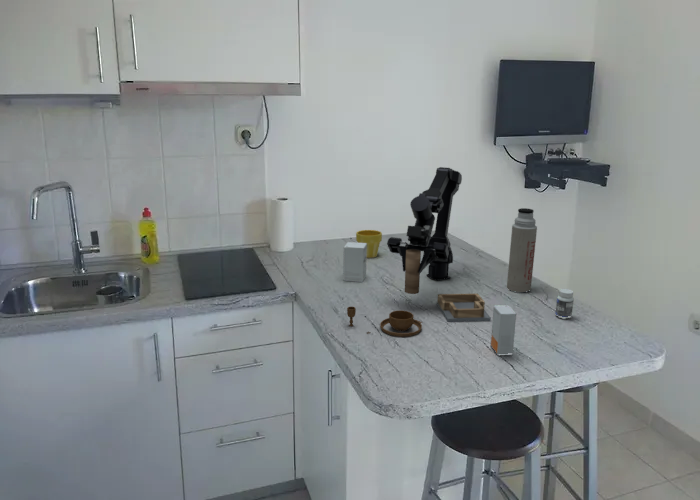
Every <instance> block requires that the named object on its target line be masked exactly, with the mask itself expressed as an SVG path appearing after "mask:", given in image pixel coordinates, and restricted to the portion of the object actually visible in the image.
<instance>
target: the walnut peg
mask: <svg viewBox="0 0 700 500" xmlns="http://www.w3.org/2000/svg"><path fill="white" fill-rule="evenodd" d="M421 254H422V251H420V250H416V249H409V250H406V265H405V273H404V292H405V294H409V295H416V294H417V295H418V294H419V292H420V277H421V273H420V274H419V273H418V270H419V266H420V263H421V261H422V258H421Z"/></svg>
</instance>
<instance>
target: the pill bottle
mask: <svg viewBox="0 0 700 500" xmlns="http://www.w3.org/2000/svg"><path fill="white" fill-rule="evenodd" d="M573 296H574V291H573V290H572V289H568V288H561V289H559V291H558V296H557V298H556V306H555V312H554V315H555V314H556V315H558V316H562V317H568V316H571V315H573V309H574V308H573V307H574V300H575V299H574V297H573Z"/></svg>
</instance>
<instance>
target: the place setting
mask: <svg viewBox="0 0 700 500" xmlns="http://www.w3.org/2000/svg"><path fill="white" fill-rule="evenodd" d="M356 311H357V310H356V307H355V306H347V309H346V314H347V317H348V318H349V322H348V323H349V325H348V326H349V327H353V326H354V325H353V324H354V320H353V319H354V317H356ZM422 323H423V322H422V321H420V320H417V319H415V318H414V314H413V313H412V312H410V311H407V310H400V309H399V310H394V311H391V312H390V313H389V315H388V318H384V319H383V320H382V321H381V322H380V323H379V324H380V325H379V327H380V330H381V331H382V332H383V333H385V334H387V335H389V336H393V337H400V338H408V337H414V336H416V335H418V334H419V333H420V332H421V331H422V328H423V325H422ZM387 324H389V325H390V327H392V329H394V330H395V331H397V332H394V331H390V330H388V329H386V328H384V326H386V325H387ZM413 325H414V326H415V327H417V328H418V330H415V331H411V332H406V331H408V330H409V329H410V328H411V327H413ZM366 334H367V335H369V334H370V330H369V331H367V332H366Z"/></svg>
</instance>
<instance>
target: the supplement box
mask: <svg viewBox="0 0 700 500" xmlns="http://www.w3.org/2000/svg"><path fill="white" fill-rule="evenodd" d="M367 259H368V258H367V243H358V242H357V241H356V242H355V241H354V242H351V241H347V242H346V243H345V245H344V246H343V263H342V265H343V273H342V274H343V275H342V276H343V277H342V278H343V281H344V282H354V283H355V282H356V283H357V282H358V283H363V282H364V281H365V278H366V277H367Z"/></svg>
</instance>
